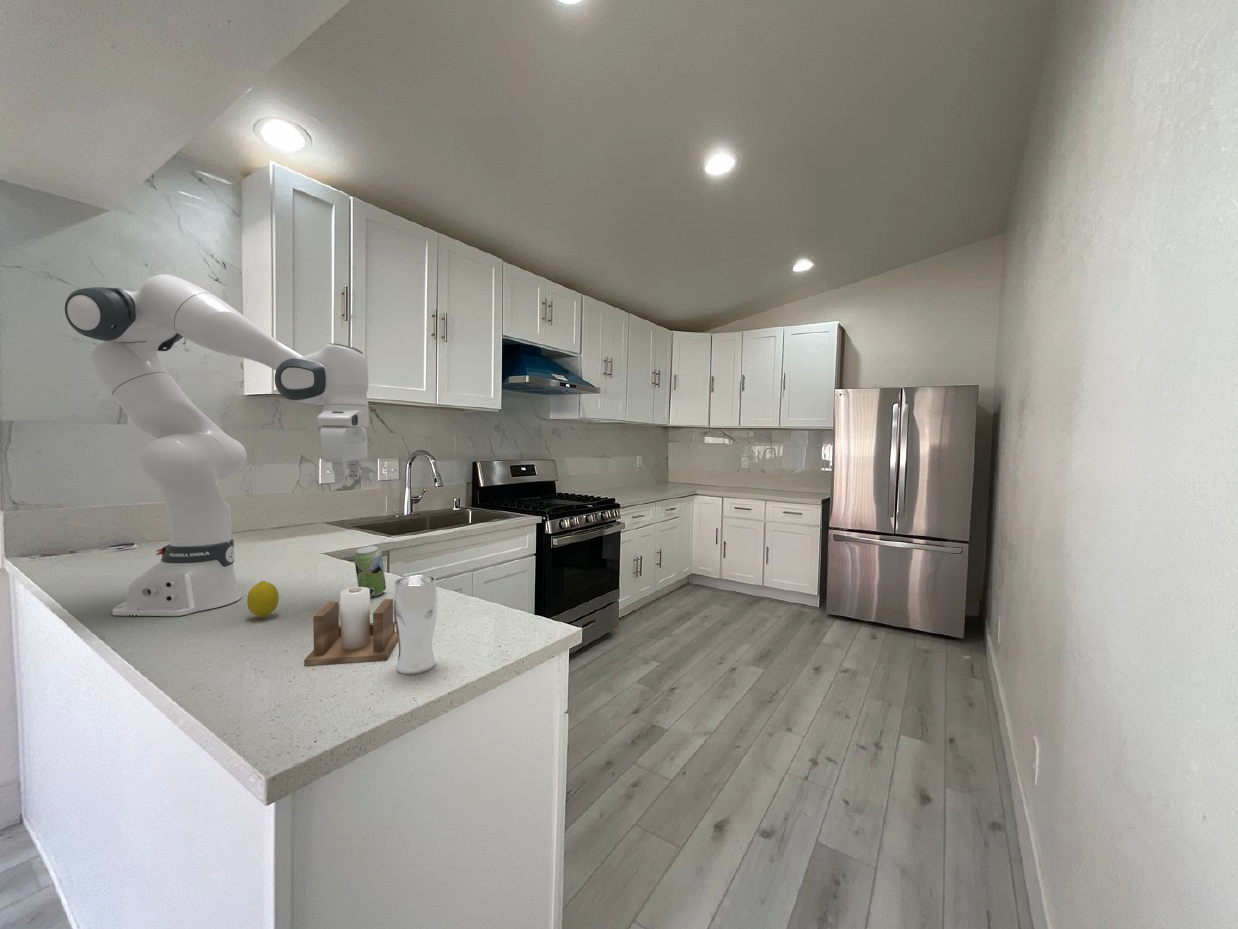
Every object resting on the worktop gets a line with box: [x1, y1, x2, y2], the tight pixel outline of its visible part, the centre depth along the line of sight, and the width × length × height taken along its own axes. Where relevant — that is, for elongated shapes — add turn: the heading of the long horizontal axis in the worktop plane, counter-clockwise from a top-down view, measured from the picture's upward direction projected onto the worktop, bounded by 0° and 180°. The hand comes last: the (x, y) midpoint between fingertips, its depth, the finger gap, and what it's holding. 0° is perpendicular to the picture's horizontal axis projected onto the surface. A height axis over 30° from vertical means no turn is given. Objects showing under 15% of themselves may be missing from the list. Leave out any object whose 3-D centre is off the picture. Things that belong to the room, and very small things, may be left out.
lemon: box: [246, 580, 280, 619], centre depth 110 cm, size 6×6×8 cm
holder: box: [303, 598, 399, 666], centre depth 94 cm, size 13×11×8 cm
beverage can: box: [353, 545, 387, 597], centre depth 126 cm, size 6×7×12 cm
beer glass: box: [392, 574, 438, 675], centre depth 88 cm, size 7×7×15 cm
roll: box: [339, 586, 371, 650], centre depth 94 cm, size 5×5×10 cm
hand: (347, 481), depth 115 cm, fingers open, 8 cm apart
